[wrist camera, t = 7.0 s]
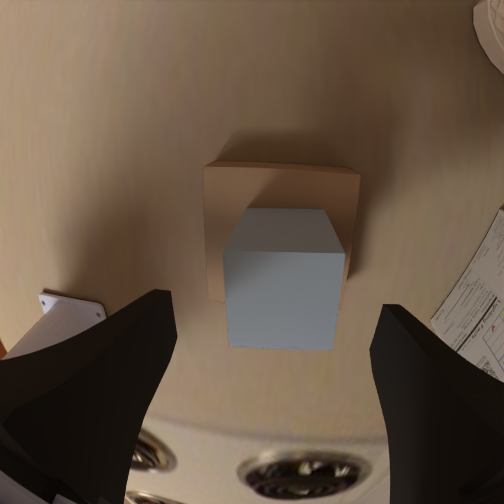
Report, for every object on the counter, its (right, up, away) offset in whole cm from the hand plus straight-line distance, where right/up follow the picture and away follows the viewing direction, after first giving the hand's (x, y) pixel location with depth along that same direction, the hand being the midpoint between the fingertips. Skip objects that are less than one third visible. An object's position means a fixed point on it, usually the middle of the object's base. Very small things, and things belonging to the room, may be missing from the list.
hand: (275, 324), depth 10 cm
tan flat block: (+1, +4, +9) cm, 10 cm away
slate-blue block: (+1, +3, +6) cm, 7 cm away
